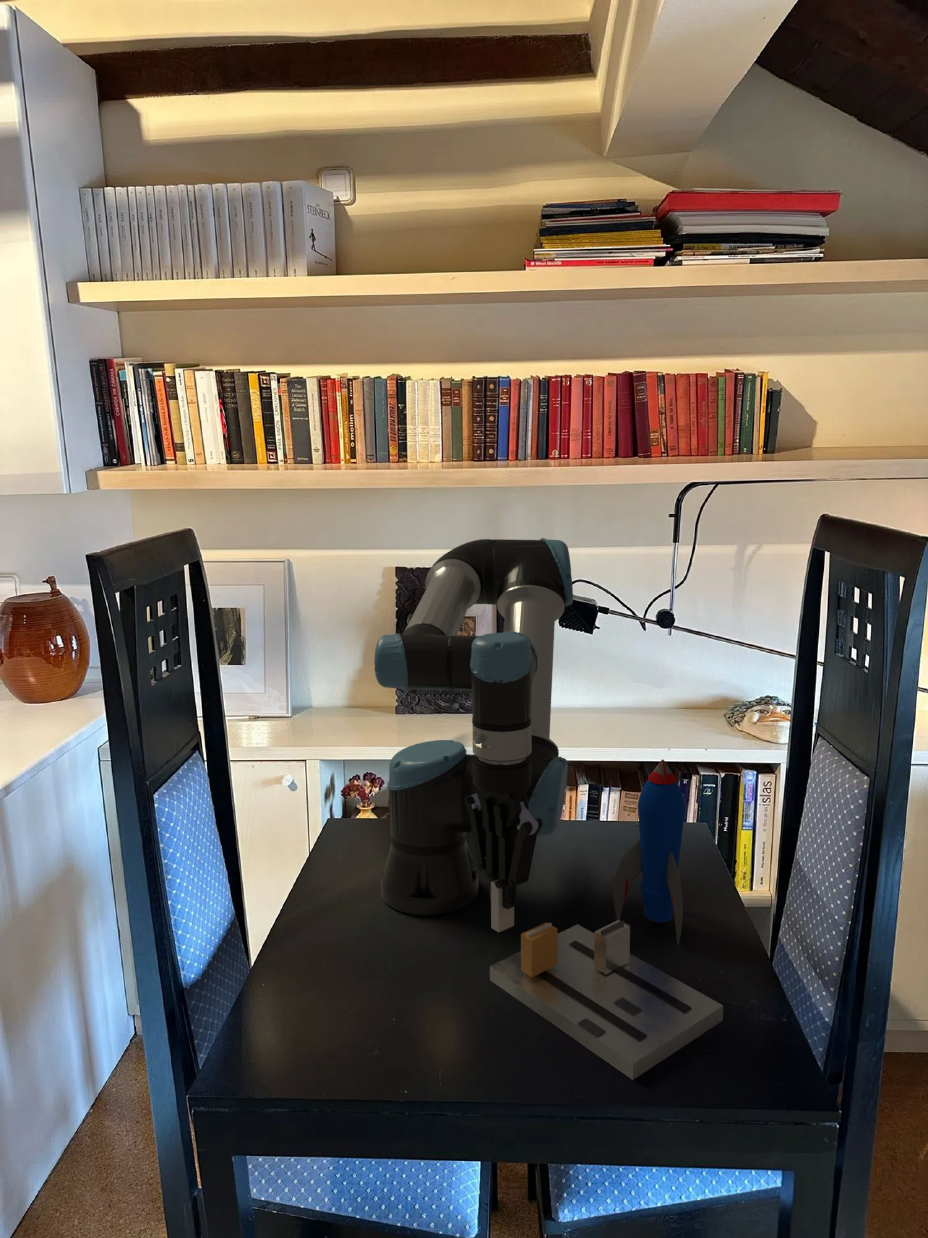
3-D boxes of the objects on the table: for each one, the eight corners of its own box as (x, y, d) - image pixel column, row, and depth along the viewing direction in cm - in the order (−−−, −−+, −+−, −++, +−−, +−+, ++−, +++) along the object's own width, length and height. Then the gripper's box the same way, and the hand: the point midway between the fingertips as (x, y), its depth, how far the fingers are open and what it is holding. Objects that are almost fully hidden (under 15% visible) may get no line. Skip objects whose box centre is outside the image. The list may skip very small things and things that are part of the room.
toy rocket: (682, 949, 121) (688, 774, 116) (611, 942, 123) (614, 770, 118) (679, 909, 131) (685, 748, 127) (614, 903, 133) (617, 744, 129)
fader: (521, 970, 112) (521, 931, 111) (546, 958, 115) (546, 919, 114) (531, 977, 110) (531, 937, 109) (557, 964, 113) (557, 925, 112)
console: (489, 980, 114) (489, 926, 113) (577, 937, 124) (577, 887, 123) (632, 1080, 96) (634, 1017, 94) (722, 1020, 106) (725, 962, 104)
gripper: (447, 749, 116) (450, 917, 120) (513, 776, 106) (514, 957, 110) (491, 738, 120) (492, 899, 124) (558, 762, 110) (557, 937, 114)
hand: (502, 926), depth 117 cm, fingers closed
